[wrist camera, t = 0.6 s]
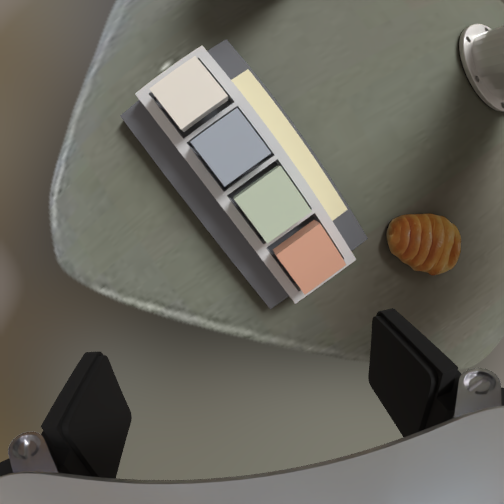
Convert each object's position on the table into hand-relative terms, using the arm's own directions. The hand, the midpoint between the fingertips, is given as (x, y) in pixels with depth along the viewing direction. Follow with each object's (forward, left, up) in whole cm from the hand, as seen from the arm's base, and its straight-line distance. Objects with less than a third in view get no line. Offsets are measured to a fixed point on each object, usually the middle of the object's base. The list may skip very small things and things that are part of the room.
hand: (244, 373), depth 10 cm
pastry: (-17, +13, -22) cm, 31 cm away
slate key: (-5, -7, -18) cm, 19 cm away
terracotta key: (-5, +5, -18) cm, 19 cm away
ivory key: (-5, -12, -18) cm, 22 cm away
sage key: (-5, -1, -18) cm, 18 cm away
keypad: (-5, -4, -22) cm, 22 cm away
